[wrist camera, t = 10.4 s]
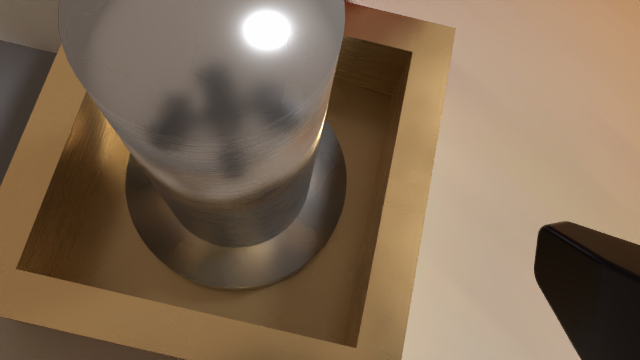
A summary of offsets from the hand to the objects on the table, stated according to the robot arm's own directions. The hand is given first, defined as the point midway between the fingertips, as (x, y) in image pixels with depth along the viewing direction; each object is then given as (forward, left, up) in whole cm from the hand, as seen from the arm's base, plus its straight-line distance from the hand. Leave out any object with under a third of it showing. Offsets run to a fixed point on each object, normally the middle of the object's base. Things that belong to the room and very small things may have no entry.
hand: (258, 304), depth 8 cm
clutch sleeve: (+2, -4, -10) cm, 11 cm away
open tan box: (+2, -4, -10) cm, 11 cm away
